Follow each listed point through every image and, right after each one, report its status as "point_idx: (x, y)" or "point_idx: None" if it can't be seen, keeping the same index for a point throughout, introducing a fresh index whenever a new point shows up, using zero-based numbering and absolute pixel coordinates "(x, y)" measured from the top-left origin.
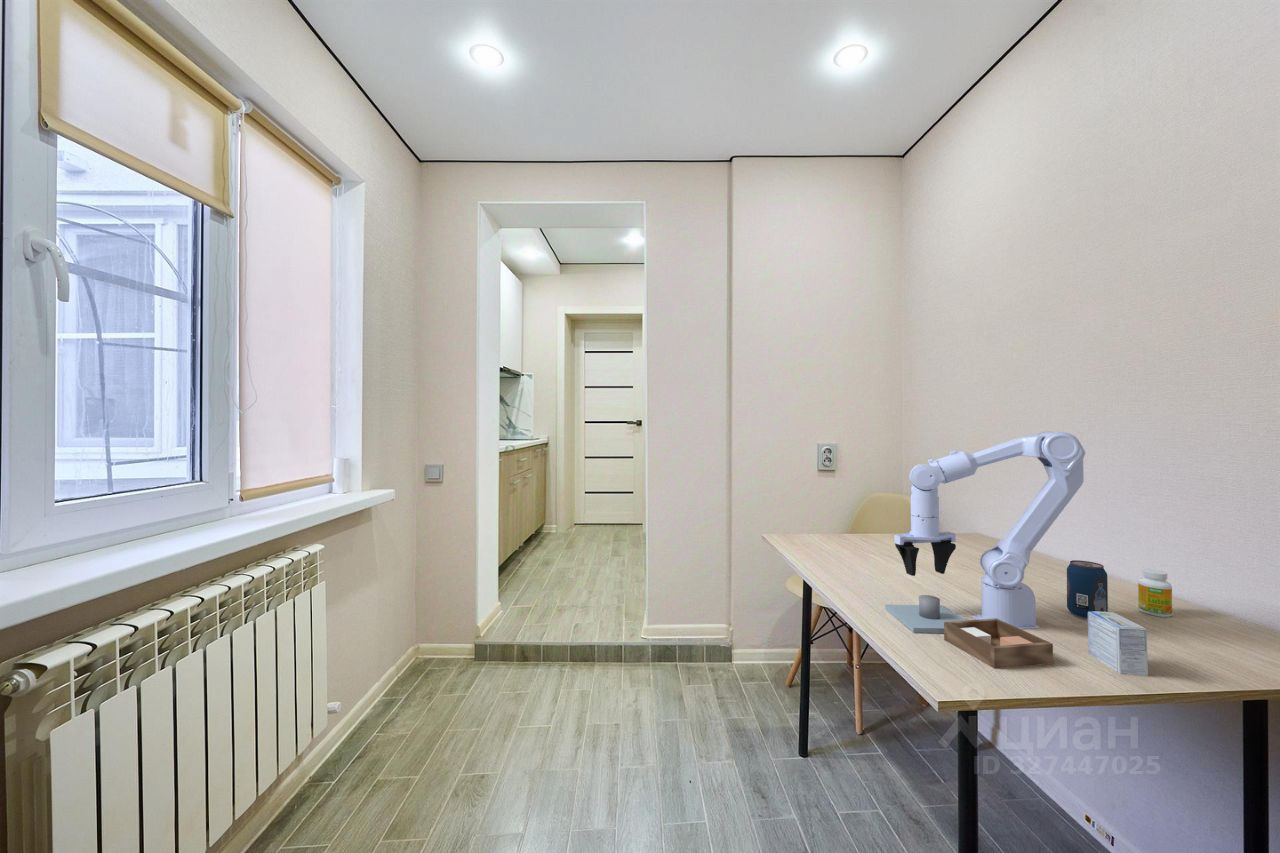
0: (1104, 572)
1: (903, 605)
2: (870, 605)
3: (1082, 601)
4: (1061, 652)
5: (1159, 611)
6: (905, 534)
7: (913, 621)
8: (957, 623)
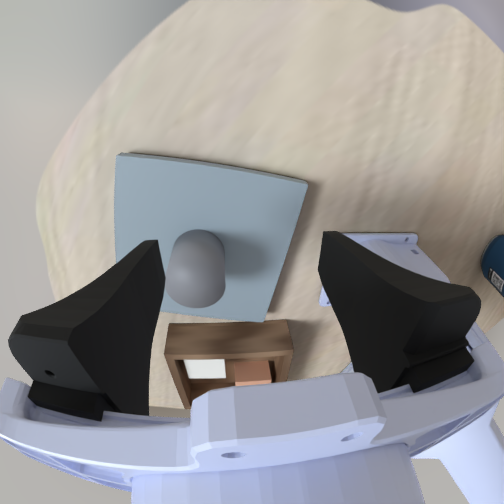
0: None
1: (171, 166)
2: (104, 104)
3: (495, 280)
4: (330, 355)
5: None
6: (68, 452)
7: None
8: (190, 358)
